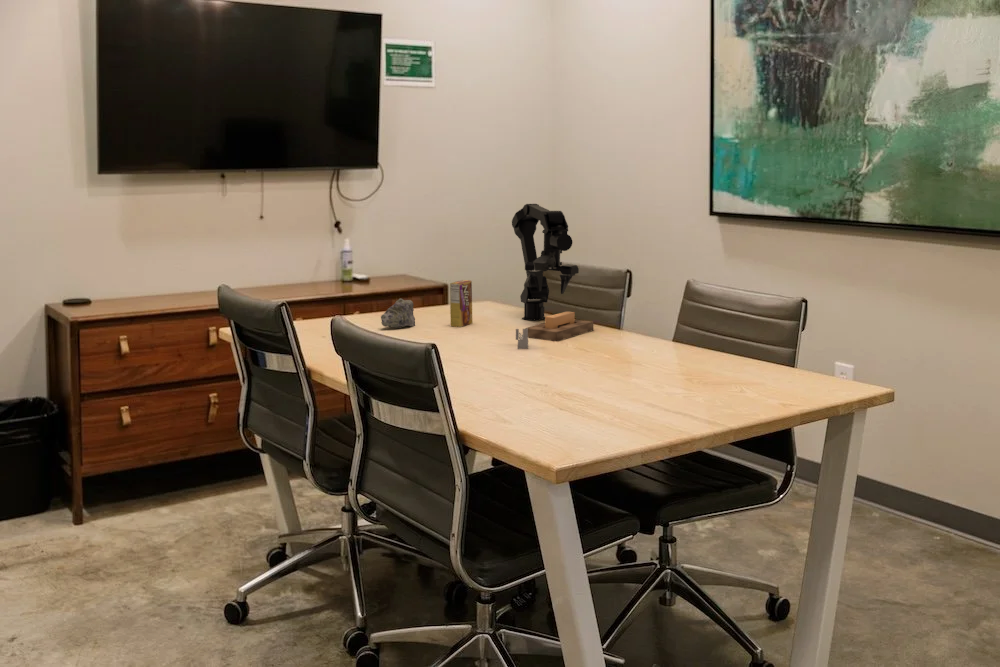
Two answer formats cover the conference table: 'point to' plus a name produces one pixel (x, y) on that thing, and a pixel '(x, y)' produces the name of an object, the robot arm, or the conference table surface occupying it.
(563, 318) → the orange brown flat block
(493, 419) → the conference table surface
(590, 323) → the wooden board with recesses
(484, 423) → the conference table surface
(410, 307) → the mineral rock
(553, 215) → the robot arm
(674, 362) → the conference table surface
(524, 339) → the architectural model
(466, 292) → the candy box
